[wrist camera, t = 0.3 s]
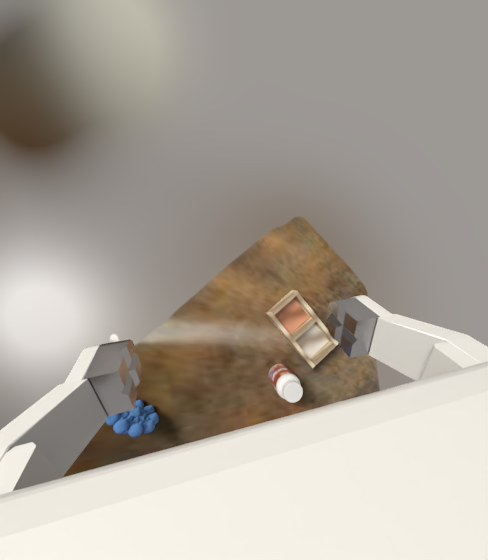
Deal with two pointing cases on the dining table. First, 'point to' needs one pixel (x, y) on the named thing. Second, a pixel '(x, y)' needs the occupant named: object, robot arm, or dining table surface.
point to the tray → (302, 328)
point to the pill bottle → (285, 383)
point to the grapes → (134, 420)
